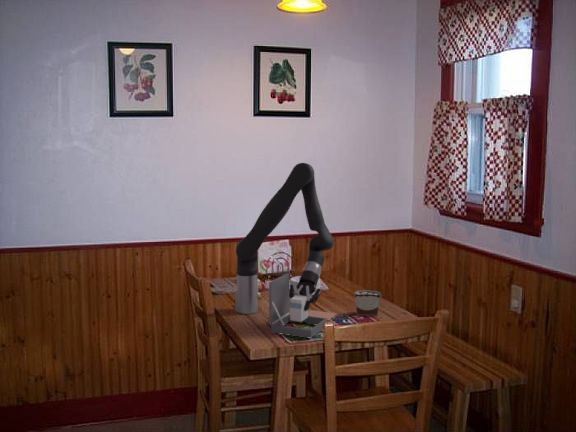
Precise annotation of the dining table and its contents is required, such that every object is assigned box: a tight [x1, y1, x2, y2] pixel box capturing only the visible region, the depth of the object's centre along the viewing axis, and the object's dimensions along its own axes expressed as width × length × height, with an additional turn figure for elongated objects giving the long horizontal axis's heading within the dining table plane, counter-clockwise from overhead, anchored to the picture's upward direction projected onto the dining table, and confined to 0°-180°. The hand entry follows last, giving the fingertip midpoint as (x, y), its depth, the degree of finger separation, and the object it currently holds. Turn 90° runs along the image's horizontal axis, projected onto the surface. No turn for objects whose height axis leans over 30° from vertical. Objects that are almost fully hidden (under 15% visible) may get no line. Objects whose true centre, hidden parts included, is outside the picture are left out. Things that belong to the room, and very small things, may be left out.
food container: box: [353, 289, 382, 316], centre depth 292 cm, size 12×6×10 cm, turn 84°
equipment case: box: [268, 272, 328, 337], centre depth 268 cm, size 18×18×21 cm
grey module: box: [289, 295, 309, 322], centre depth 268 cm, size 5×7×9 cm
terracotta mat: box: [308, 309, 338, 321], centre depth 286 cm, size 13×16×1 cm
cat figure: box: [257, 278, 266, 301], centre depth 326 cm, size 10×9×25 cm
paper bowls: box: [289, 275, 322, 297], centre depth 324 cm, size 15×15×8 cm
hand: (298, 309), depth 268 cm, fingers closed on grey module, 5 cm apart
